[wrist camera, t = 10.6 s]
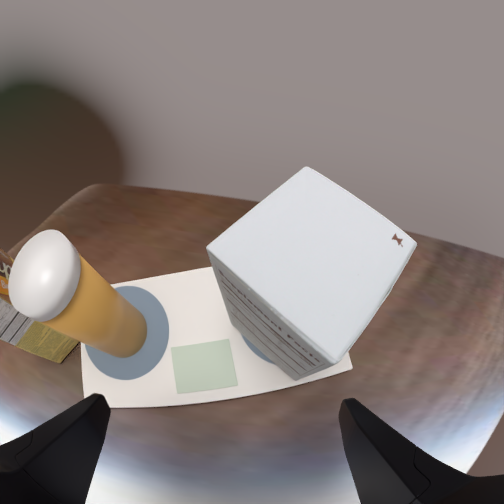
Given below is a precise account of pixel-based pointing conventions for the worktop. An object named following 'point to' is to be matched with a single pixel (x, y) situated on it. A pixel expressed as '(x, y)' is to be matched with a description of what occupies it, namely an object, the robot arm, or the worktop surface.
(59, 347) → the candy box
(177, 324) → the white board
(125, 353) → the amber tube
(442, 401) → the worktop surface
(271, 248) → the supplement box
